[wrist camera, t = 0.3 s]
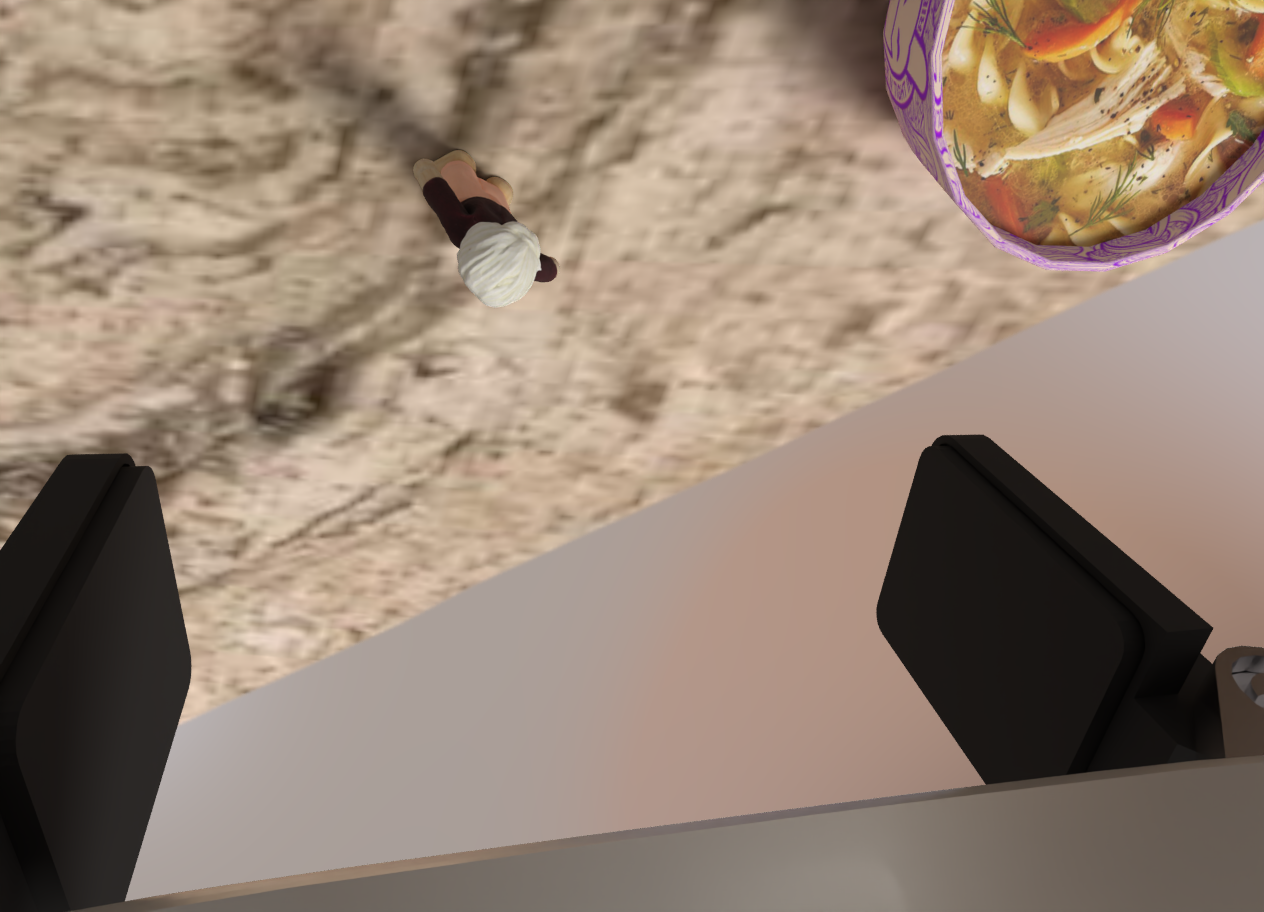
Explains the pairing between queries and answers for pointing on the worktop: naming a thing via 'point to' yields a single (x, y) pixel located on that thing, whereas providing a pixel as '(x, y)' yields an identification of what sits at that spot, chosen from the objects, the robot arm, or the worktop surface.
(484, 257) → the grandmother figurine
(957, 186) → the bowl of food
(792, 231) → the worktop surface
